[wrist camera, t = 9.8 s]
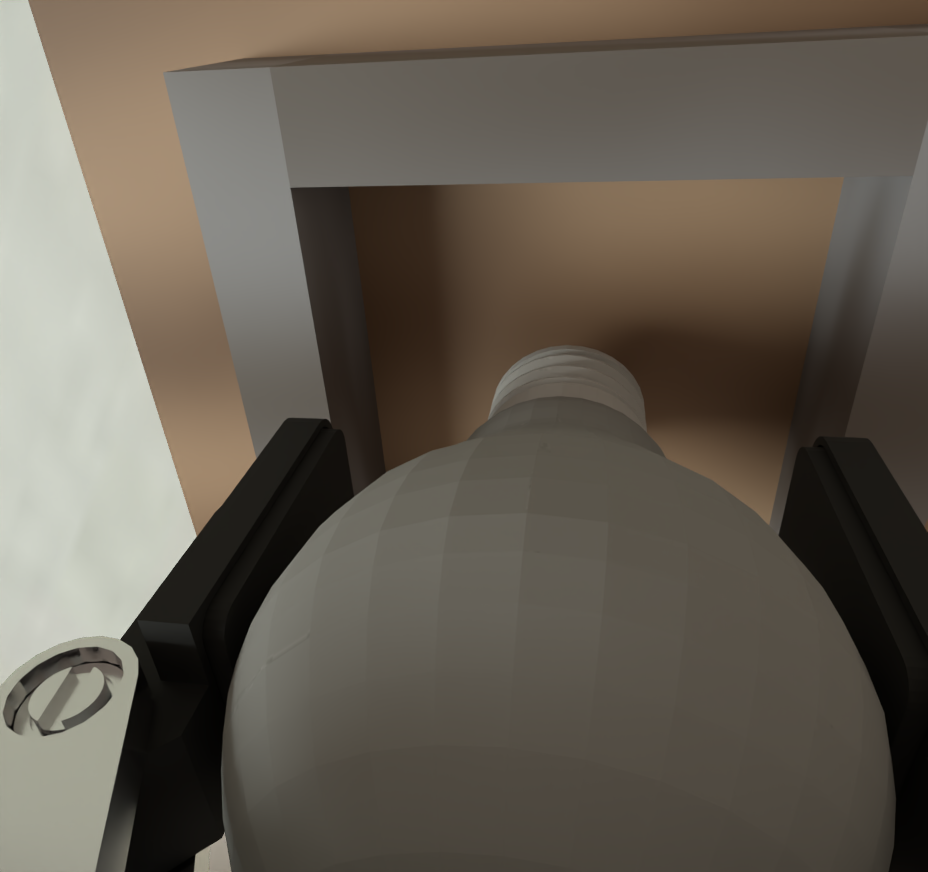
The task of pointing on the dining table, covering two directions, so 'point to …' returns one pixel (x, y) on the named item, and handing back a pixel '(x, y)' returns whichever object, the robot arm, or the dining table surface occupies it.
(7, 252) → the dining table surface
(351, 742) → the light bulb
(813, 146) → the socket holder
